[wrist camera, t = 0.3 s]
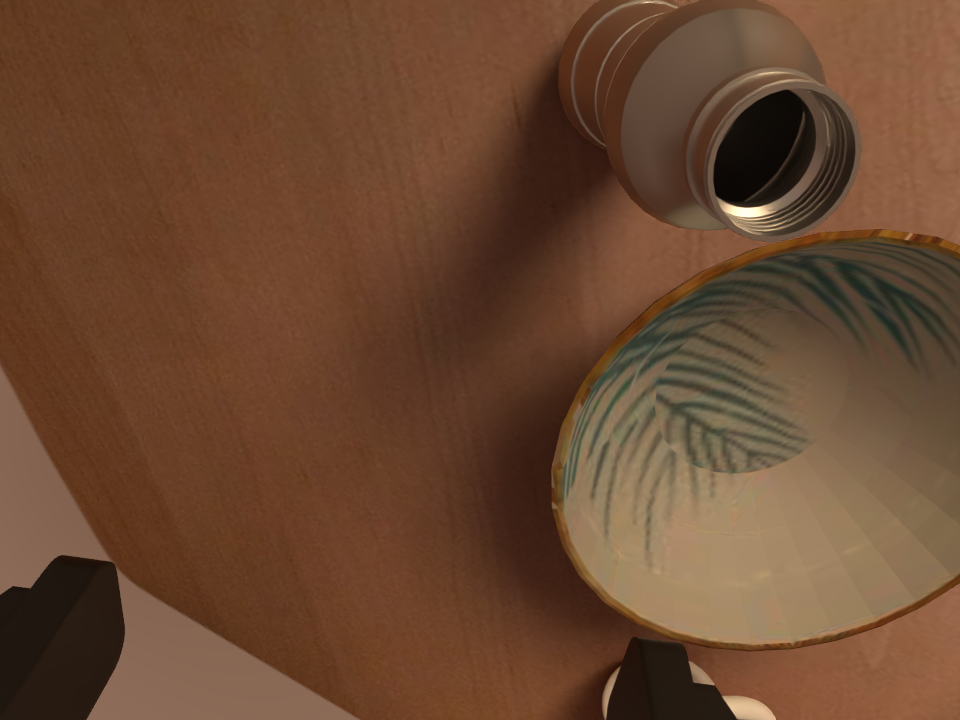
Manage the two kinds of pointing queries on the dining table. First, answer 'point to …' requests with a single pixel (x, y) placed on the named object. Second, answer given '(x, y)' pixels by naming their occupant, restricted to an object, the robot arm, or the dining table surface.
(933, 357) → the bowl
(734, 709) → the mug
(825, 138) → the silver metal bottle
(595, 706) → the dining table surface
